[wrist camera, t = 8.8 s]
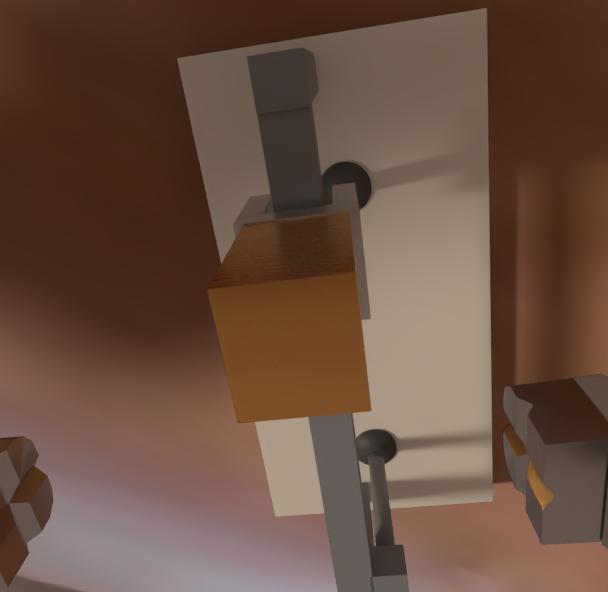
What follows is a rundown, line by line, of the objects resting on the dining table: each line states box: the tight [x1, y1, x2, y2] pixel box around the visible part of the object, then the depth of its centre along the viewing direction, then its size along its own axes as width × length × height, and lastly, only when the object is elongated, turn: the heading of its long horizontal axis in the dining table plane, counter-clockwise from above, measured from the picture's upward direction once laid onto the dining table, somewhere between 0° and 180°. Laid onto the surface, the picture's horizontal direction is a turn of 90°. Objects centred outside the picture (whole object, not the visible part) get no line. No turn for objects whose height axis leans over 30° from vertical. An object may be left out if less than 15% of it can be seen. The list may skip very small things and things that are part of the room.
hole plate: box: [177, 8, 493, 592], centre depth 26 cm, size 14×28×12 cm, turn 8°
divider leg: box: [207, 183, 372, 423], centre depth 19 cm, size 4×4×16 cm
